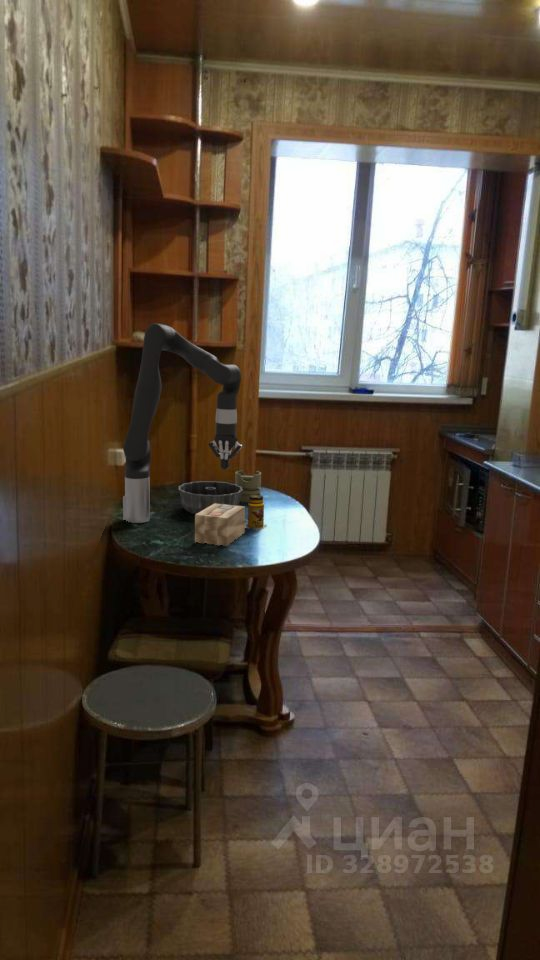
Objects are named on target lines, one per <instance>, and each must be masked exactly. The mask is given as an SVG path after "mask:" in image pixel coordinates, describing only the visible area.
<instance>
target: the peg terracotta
mask: <svg viewBox="0 0 540 960" xmlns="http://www.w3.org/2000/svg"><path fill="white" fill-rule="evenodd" d="M222 514H223V513H219V512H211V513H209V514H208V515H214V516H220V515H222Z"/></svg>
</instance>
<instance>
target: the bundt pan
mask: <svg viewBox="0 0 540 960" xmlns="http://www.w3.org/2000/svg"><path fill="white" fill-rule="evenodd" d="M178 491H179V495H180V496H179V497H180V503H181V506H182V508H183V509H184V510H185V511H187V512H189V513H190V514H193V515H194V514H197V513H199V512H201V511H202V510H204V509H206V508H208V507H209V506H211V505H213V504H215V503H216V504H225V505H235V506H240V503H241V502H240V498H241V493H242V491H243V490H242V487H240V486H237V485H236V484H235V483H230V482H225V481H216V480H214V481H207V480H205V481H203V480H201V481H191V482H186V483H182V484H181V485H178Z"/></svg>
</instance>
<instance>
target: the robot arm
mask: <svg viewBox="0 0 540 960" xmlns="http://www.w3.org/2000/svg"><path fill="white" fill-rule="evenodd" d="M142 345H143V346H142V354H141V362H140V367H139V371H138V373H139V374H138V377H137V383H136V386H135V391H134V396H133V403H132V408H131V409H132V410H131V417H130V418H131V419H130V424H129V427H128V430H127V434H126V437H125V440H124V443H123V445H122V447H123V448H122V449H123V453H124V455H125V469H124V495H123V496H122V513H123V516H122V519H123V520H126V521H125V522H127V521H128V522H127V523H130V522H131V524H141V523H147V522H149V521H150V517H151V516H150V515H151V513H150V511H151V509H150V508H151V506H150V505H151V504H150V498H151V497H150V494H151V493H150V492H151V491H150V485H151V484H150V470H151V444H150V439H149V434H150V428H151V425H152V422H153V419H154V417H155V414H156V412H157V409H158V406H159V402H160V397H161V394H162V388H163V387H162V386H163V385H162V378H161V374H160V367H159V363H160V359H161V353H162V351H167V352H170V353H173V354H176V355H178V356H180V357H181V358H183V359H184V360H185V361H186V363H188V364H189V365H191V367H193V368H195V369H196V370H199V371H200V372H202V373H203V374H205V375H206V376H208V378H210V379H211V381H213V382H214V383H216V384H218V385H220V386H223V387H222V390H221V391H219V392H218V394H217V395H216V412H215V436H214V439H213V440H212V441H210V442H209V443H208V446H209V448H210V449H211V451H212V452H213V455H215V458H216V457H217V458H219V459H220V468H221V470H225V471H227V470H228V469H229V468H230V464H231V463H230V462H231V459H234V458H235V457H236V456H237V455H238V453H239V452H240V451H241V450H242V448H244V446H243V444H240V443H239V442H238V438H237V433H238V431H237V428H238V425H237V424H238V412H237V406H238V405H237V404H238V403H237V402H238V401H237V399H238V395H239V392H240V386H241V382H242V372H241V370H240V368H239V367H238V366H237V365H236V364H223V363H221V362H220V360H219V359H218V358H217V356H215V355H214V354H212V353H210V352H208V351H206V350H204V349H203V348H201V347H198V346H197V345H195V344H194V343H192V342H191V341H189V340H187V339H186V338H185V337H183V336H182V335H181V333H180V334H179V332H178V331H176V330H175V329H174V328H173V327H171V326H169V325H166V324H162V323H151V324H150V325H148V327H147V328H146V330H145V333H144V336H143V344H142ZM233 448H234V450H233ZM232 450H233V451H232Z"/></svg>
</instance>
